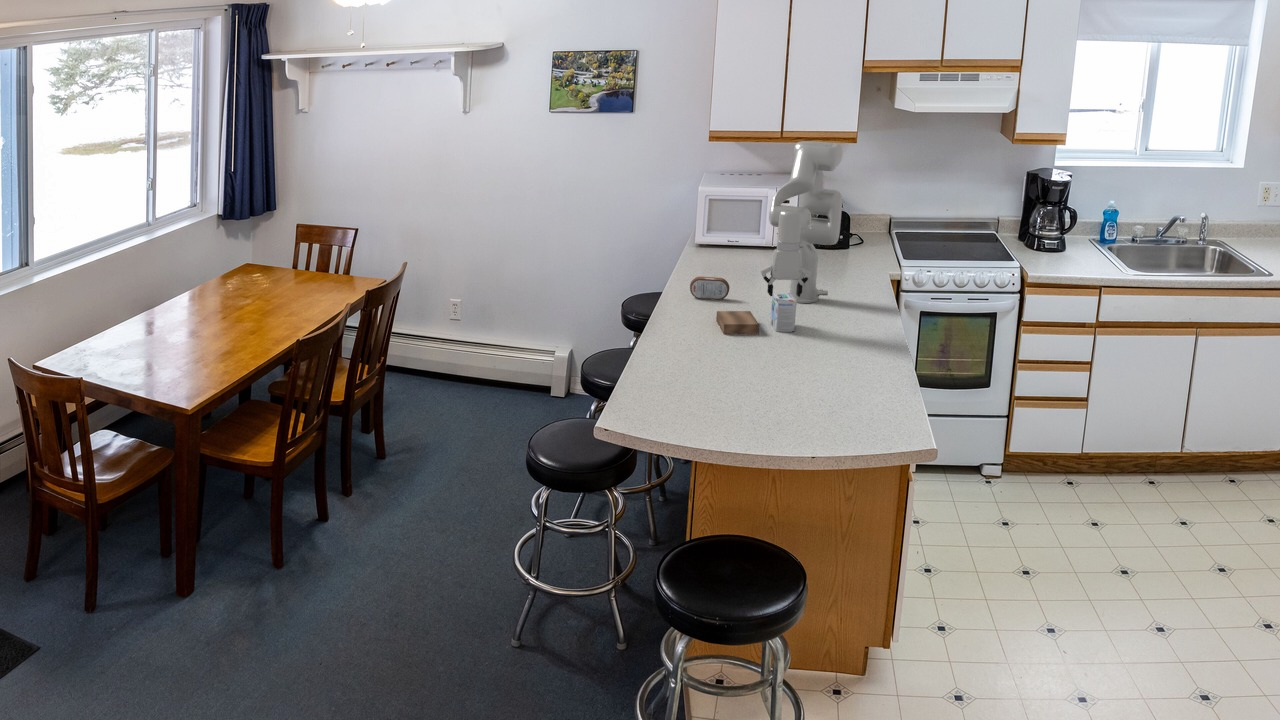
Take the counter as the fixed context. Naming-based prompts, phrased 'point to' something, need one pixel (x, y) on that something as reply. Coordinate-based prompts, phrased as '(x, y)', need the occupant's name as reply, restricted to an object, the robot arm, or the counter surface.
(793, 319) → the light bulb box
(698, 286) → the tin
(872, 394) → the counter surface
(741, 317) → the walnut block
